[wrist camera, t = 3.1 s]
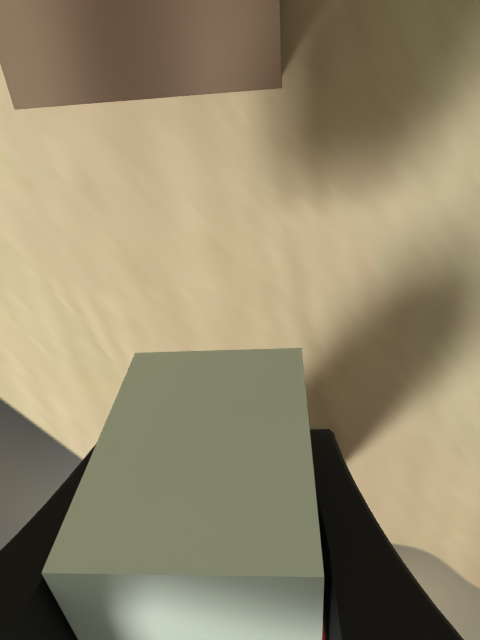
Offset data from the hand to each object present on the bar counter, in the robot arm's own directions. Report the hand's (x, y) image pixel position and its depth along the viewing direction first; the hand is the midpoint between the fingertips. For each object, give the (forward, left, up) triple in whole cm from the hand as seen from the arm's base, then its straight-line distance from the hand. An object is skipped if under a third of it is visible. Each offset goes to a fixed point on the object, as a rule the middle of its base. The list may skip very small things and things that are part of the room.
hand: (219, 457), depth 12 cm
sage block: (0, 0, -2) cm, 2 cm away
